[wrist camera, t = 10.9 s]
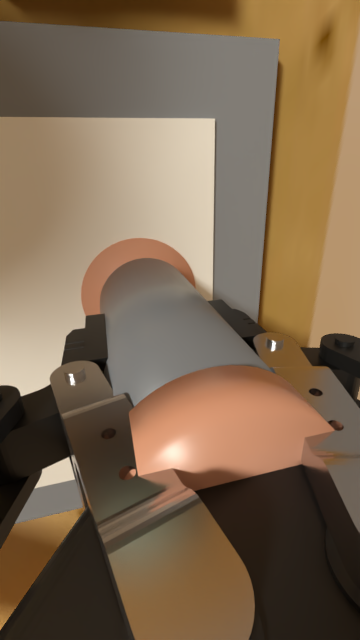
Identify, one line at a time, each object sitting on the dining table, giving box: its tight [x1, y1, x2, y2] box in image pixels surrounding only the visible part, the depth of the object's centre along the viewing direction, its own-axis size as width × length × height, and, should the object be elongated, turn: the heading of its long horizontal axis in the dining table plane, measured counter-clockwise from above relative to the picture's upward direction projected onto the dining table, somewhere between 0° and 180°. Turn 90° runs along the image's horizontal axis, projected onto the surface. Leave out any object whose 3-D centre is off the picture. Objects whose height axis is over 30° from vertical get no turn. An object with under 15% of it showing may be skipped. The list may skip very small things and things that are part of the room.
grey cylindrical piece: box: [100, 258, 335, 491], centre depth 10 cm, size 5×5×11 cm
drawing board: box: [0, 21, 280, 524], centre depth 17 cm, size 26×20×1 cm
